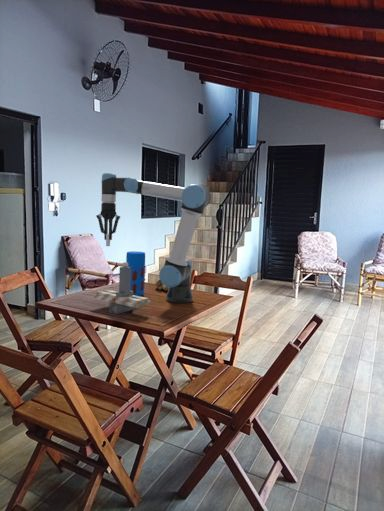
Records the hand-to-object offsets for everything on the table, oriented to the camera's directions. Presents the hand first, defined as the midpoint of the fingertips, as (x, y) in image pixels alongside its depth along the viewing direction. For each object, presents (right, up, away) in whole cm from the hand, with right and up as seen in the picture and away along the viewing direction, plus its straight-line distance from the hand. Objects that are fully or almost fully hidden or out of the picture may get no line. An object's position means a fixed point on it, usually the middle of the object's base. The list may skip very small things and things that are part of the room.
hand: (108, 245), depth 202 cm
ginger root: (+29, -27, +34) cm, 52 cm away
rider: (+13, -26, -23) cm, 37 cm away
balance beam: (+11, -32, -21) cm, 40 cm away
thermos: (+12, -28, +15) cm, 34 cm away
